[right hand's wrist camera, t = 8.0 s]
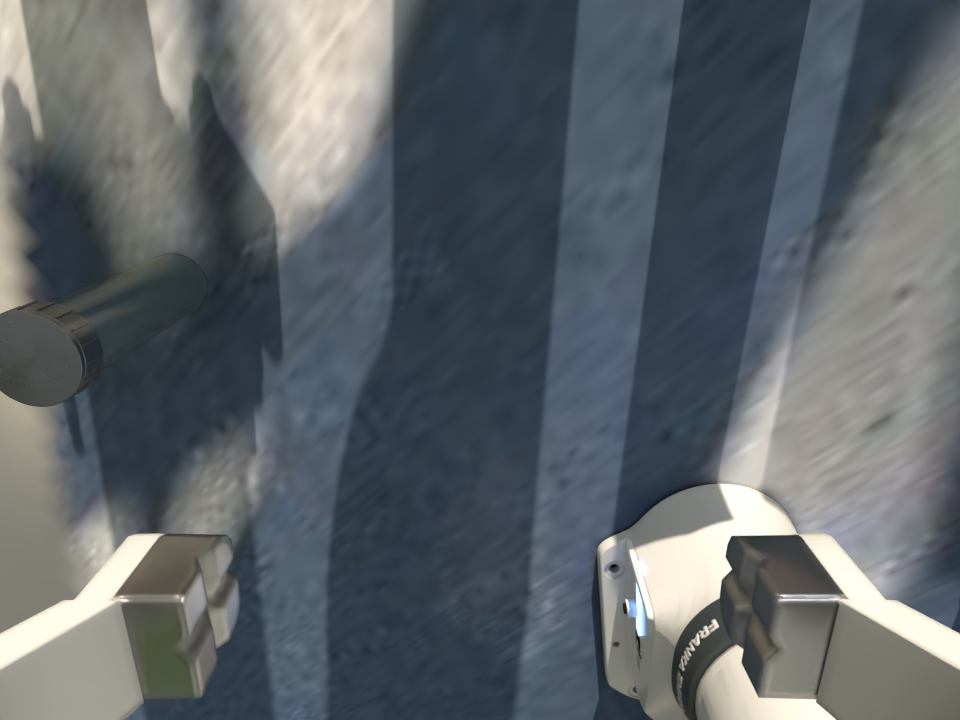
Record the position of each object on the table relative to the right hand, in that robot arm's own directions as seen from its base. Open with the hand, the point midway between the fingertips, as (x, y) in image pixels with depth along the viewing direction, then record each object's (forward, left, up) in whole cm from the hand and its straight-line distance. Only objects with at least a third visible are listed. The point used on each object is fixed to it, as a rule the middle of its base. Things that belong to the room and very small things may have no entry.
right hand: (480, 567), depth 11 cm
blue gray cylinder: (-6, +21, -37) cm, 43 cm away
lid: (-6, +21, -21) cm, 30 cm away
